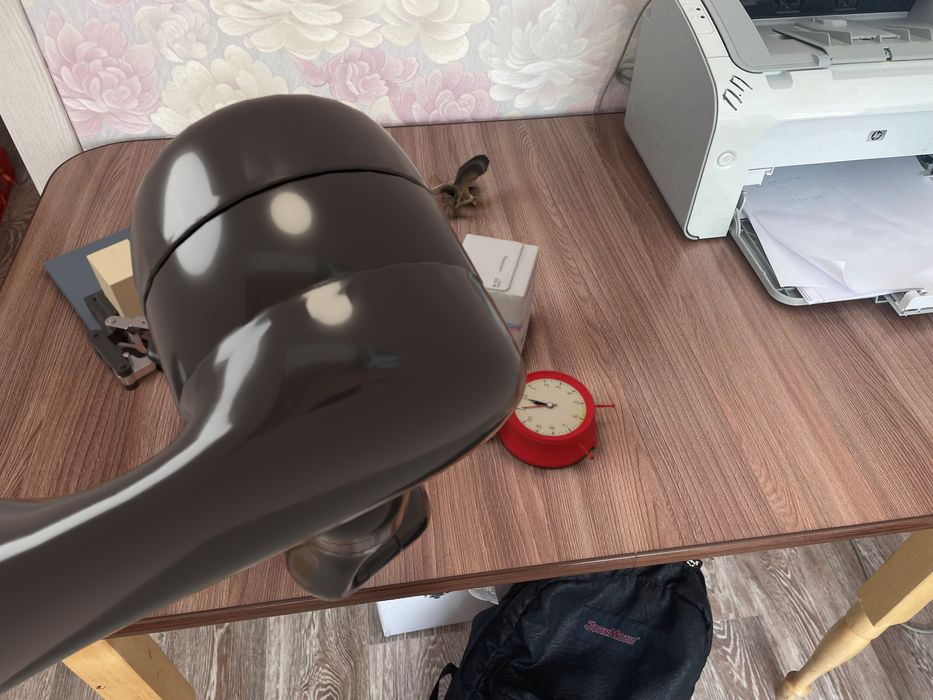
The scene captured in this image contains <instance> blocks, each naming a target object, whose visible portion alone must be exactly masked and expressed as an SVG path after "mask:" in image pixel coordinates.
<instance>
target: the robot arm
mask: <svg viewBox="0 0 933 700" xmlns="http://www.w3.org/2000/svg"><path fill="white" fill-rule="evenodd" d="M128 227H129V239H130V253H131V264H132V272H133V278H134V282H135V287H136V290H137V293H138V297H139V300H140V303H141V306H142V310H143V313H144V316H145V317H142V316H135V318H134V319H132V318H126V317H121V316H120V314H119V312H118V311H117V310H116V308H115V307H114V306H113V304H112V303H111V302H110V301H109V299H108V298H107V297H106V295H105V294H104V293H103V292H100V293H98V294H96V295H95V298H96V301H94V302H92V307H93V310H94V312H95V314H96V316H97V318H98V319H99V320H100V322H101V323H102V324H103V327H102V328H101V329H100V330H98V329H95V330H92V331H90V330H89V332H87V334H86V338H87V340H88V342H89V344H91V347H92V348H93V351H94V355H96V358H97V359H98V360H99V361H100V362H101V363H102V365H103V366H104V367H105V368H106V370H107V371H108V372H109V373H110V374H111V375H112V376H113V377H114V379H115V380H116V381H117V383H119V384H120V386H121V387H122V388H123V389H124V390H125V391H126V392H127V391H128V392H133V391H135V390H137V389H138V388H139V387H140V381H139V379H141V378H142V377H144V376H146V375H148V374H150V373H151V372H154V371H156V372H157V373H162V374H163V375H164V377H165V380H166V382H167V385H168V388H169V392H170V394H171V397H172V400H173V402H174V405H175V408H176V412H177V415H178V417H180V420H181V424H182V428H181V430H180V431H179V433H178V434H177V435H176V436H175V438H174V439H173V440H171V442H170V443H169V444H167V445H166V446H165V447H164V448H163V449H162V450H160V451H159V452H157V453H156V454H154V455H152V456H151V457H149V458H148V459H146V460H145V461H143V462H141V463H140V464H138V465H136V466H134V467H133V468H130V469H129V470H127V471H125V472H122V473H121V474H119V475H116V476H114V477H113V478H110V479H107V480H105V481H103V482H100V483H98V484H95V485H93V486H91V487H88V488H86V489H82V490H77V491H74V492H70V493H67V494H63V495H60V496H59V495H58V496H48V497H47V496H46V497H45V496H43V497H3V496H0V696H1V695H3V694H5V693H7V692H8V691H10V690H12V689H13V688H15V687H17V686H19V685H21V684H22V683H25V682H26V681H28V680H30V679H31V678H33V677H35V676H36V675H38V674H40V673H42V672H44V671H45V670H47V669H49V668H51V667H53V666H54V665H56V664H58V663H60V662H62V661H64V660H66V659H67V658H69V657H71V656H73V655H75V654H76V653H78V652H80V651H81V650H83V649H85V648H87V647H89V646H92V645H93V644H95V643H97V642H99V641H101V640H103V639H105V638H107V637H109V636H111V635H112V634H113V635H114V634H115V633H117V632H119V631H121V630H123V629H125V628H127V627H129V626H132V625H133V624H135V623H138V622H139V621H142V620H143V619H145V618H147V617H151V616H152V615H154V614H156V613H159V612H160V611H162V610H164V609H167V608H169V607H171V606H173V605H175V604H177V603H179V602H181V601H184V600H186V599H187V598H189V597H192V596H194V595H196V594H197V593H200V592H202V591H205V590H207V589H208V588H211V587H213V586H215V585H217V584H220V583H221V582H223V581H225V580H228V579H230V578H232V577H235V576H236V575H238V574H241V573H244V572H245V571H247V570H249V569H251V568H253V567H255V566H257V565H260V564H262V563H264V562H266V561H268V560H270V559H273V558H274V557H277V556H279V555H280V558H281V560H282V563H283V565H284V567H285V569H286V571H287V572H288V574H289V576H290V577H291V578H292V580H293V581H294V583H296V585H297V586H298V587H299V588H300V589H302V590H303V591H304V592H305V593H307V594H309V595H310V596H311V597H313V598H315V599H318V600H321V601H325V602H338V601H342V600H344V599H346V598H348V597H350V596H352V595H353V594H355V593H356V592H358V591H359V590H360V589H361V588H363V587H364V586H365V585H366V584H367V583H369V582H370V581H371V580H372V579H373V578H374V577H375V576H377V575H378V574H379V573H380V572H381V571H383V569H385V568H386V567H387V566H388V565H389V564H391V563H392V562H393V561H394V560H396V559H397V558H398V557H399V556H400V555H401V554H402V553H403V552H405V551H406V550H407V549H408V548H410V547H411V546H412V545H413V544H414V543H415V542H417V540H419V539H420V538H421V537H422V535H424V533H425V532H426V531H427V529H428V528H429V525H430V523H431V517H432V507H431V501H430V497H429V494H428V492H427V490H426V488H425V486H424V484H425V483H427V482H429V481H431V480H432V479H434V478H436V477H437V476H440V474H442V473H444V472H445V471H447V470H449V469H450V468H451V467H453V466H455V465H456V464H458V463H459V462H461V461H462V460H464V459H465V458H467V457H468V456H470V455H472V454H473V453H474V452H475V451H476V450H478V449H479V448H480V447H482V446H483V445H484V444H485V443H487V441H489V440H490V439H492V438H493V437H494V436H495V435H496V434H497V433H498V431H499V429H500V428H501V427H502V426H503V425H504V424H505V423H506V422H507V421H508V419H509V418H510V417H511V416H512V415H513V414H514V413H515V411H516V409H517V407H518V405H519V403H520V402H521V400H522V398H523V395H524V392H525V389H526V380H527V374H528V373H527V367H526V363H525V361H524V358H523V356H522V353H520V351H519V348H518V346H517V343H516V341H515V339H514V337H513V335H512V333H511V331H510V329H509V328H508V326H507V324H506V322H505V320H504V318H503V317H502V315H501V313H500V311H499V309H498V308H497V306H496V304H495V302H494V300H493V298H492V297H491V295H490V293H489V292H488V291H487V290H486V288H485V287H484V284H483V281H482V279H481V277H480V275H479V274H478V272H477V270H476V268H475V266H474V265H473V263H472V261H471V259H470V258H469V256H468V254H467V252H466V251H465V249H464V247H463V245H462V244H463V242H461V240H460V238H459V236H458V235H457V233H456V231H455V229H454V227H453V226H452V223H451V222H450V220H449V219H448V217H447V215H446V214H445V212H444V210H443V208H442V206H441V204H439V201H438V200H437V198H436V197H435V195H434V194H433V193H432V189H431V187H430V185H429V184H428V182H427V181H426V179H425V177H424V176H423V174H422V172H421V171H420V169H419V168H418V167H417V165H416V164H415V163H414V161H413V160H412V159H411V157H410V156H409V155H408V154H407V153H406V152H405V150H404V149H403V148H402V147H401V146H400V144H399V143H398V142H397V140H396V139H395V138H394V137H393V136H392V135H391V133H390V132H389V131H387V129H386V128H385V127H384V126H382V125H380V123H378V122H377V121H375V120H374V119H373V118H371V117H370V116H368V115H367V114H366V113H365V112H363V111H361V110H360V109H358V108H356V107H353V106H351V105H349V104H347V103H344V102H342V101H339V100H337V99H334V98H329V97H324V96H321V95H320V96H319V95H314V94H309V93H275V94H270V95H269V94H268V95H263V96H258V97H253V98H245V99H242V100H240V101H236V102H233V103H230V104H228V105H225V106H223V107H220V108H218V109H215V110H213V111H212V112H210V113H209V114H207V115H204V116H203V117H202V118H200V119H198V120H196V121H194V122H192V123H191V124H189V125H187V126H186V127H185V128H184V129H183V130H182V131H181V132H179V133H178V134H177V135H176V136H175V137H173V138H172V139H171V140H170V141H168V142H167V144H165V146H164V147H163V148H162V149H161V151H160V152H159V154H158V155H157V156H156V157H155V159H154V160H153V161H152V162H151V164H150V165H149V166H148V168H147V169H146V171H145V173H144V175H143V177H142V178H141V181H140V184H139V186H138V188H137V190H136V191H135V195H134V198H133V204H132V208H131V214H130V219H129V225H128ZM149 333H150V334H151V336H150V334H149ZM116 345H121V346H126V347H132V348H136V349H137V350H138V351H140V352H142V353H146V357H144V358H137V357H135V356H133V355H130V354H129V353H124V354H123V355H122V353H121V352H120V351H119V350H118V349H117V348H116V347H115V346H116Z"/></svg>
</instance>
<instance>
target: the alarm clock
mask: <svg viewBox="0 0 933 700" xmlns="http://www.w3.org/2000/svg"><path fill="white" fill-rule="evenodd" d="M597 408H598V409H599V408H600V409H601V408H612V409H614V408H616V404H615V403H611V404H595V400H594V398H593V396H592V394H591V392H590V390H589V389H588V387H586V385H585V384H584V383H582V382H581V381H580V380H579V379H577V378H575V376H572V375H569V374H568V373H564V372H561V371H558V370H557V371H556V370H551V369H550V370H548V369H547V370H546V369H545V370H544V369H543V370H542V369H541V370H536V371H532V372H529V373H527V380H526V389H525V392H524V395H523V398H522V400H521V402H520V403H519V405H518V407H517V409H516V411H515V413H514V414H513V415H512V416H511V417H510V418H509V419H508V421H507V422H506V423H505V424H504V425H503V426H502V427H501V428H500V429H499V431H498V432H497V433H498V435H499V438H500V440H501V442H502V444H503V445H504V447H505V448H506V449H507V450H508V451H509V452H510V453H511V455H513V456H515V457H516V458H517V459H519V460H521V461H523V462H525V463H527V464H530V465H531V466H532V465H533V466H536V467H541V468H552V469H553V468H560V467H565V466H569V465H572V464H574V463H576V462H578V461H580V460H582V458H584V457H585V456H586V455H587V456H588V457H589V460H591V461H593V460H594V459H595V456H594V454H593V455H592V454H591V453H590V450H591V449H592V448H597V445H598V442H599V440H597V439H596V437H597V426H598V425H597V420H596V409H597Z"/></svg>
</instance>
